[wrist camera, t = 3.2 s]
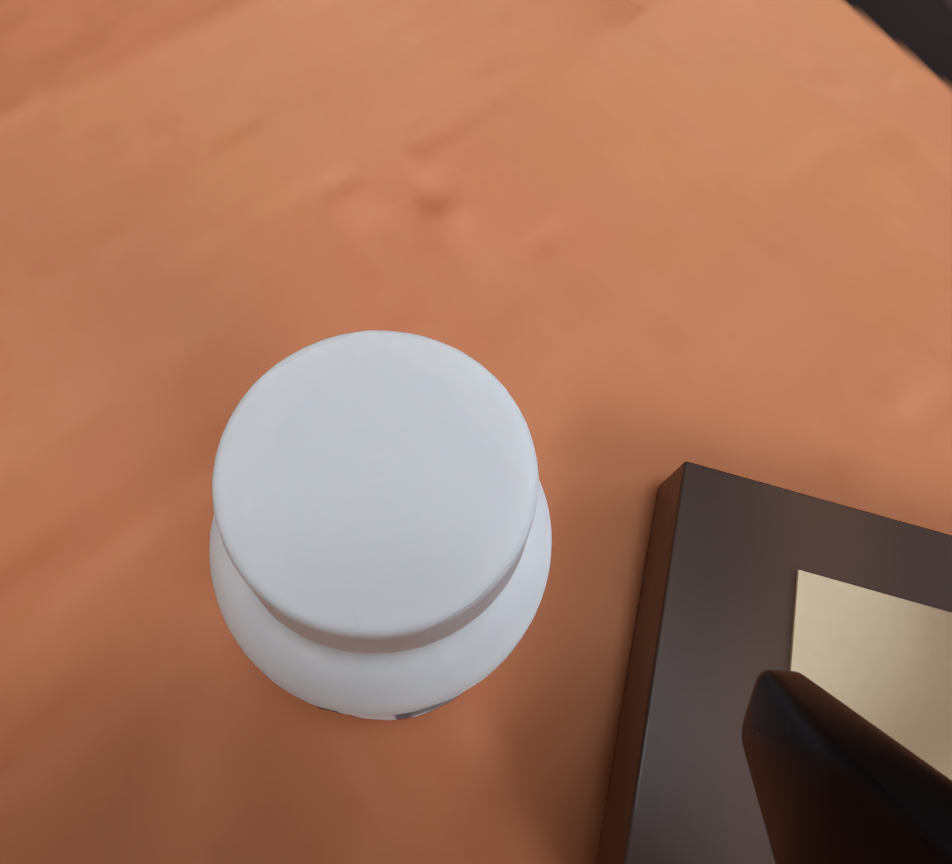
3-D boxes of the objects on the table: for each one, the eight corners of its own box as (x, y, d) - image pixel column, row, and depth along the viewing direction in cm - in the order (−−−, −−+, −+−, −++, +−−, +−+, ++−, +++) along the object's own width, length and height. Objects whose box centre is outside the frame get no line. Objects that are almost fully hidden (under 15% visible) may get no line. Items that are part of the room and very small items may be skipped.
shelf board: (588, 904, 15) (614, 929, 13) (658, 484, 19) (686, 458, 17) (1127, 1060, 15) (1232, 1109, 13) (1086, 605, 19) (1162, 591, 17)
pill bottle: (497, 500, 19) (582, 290, 10) (504, 719, 17) (621, 706, 8) (289, 498, 18) (178, 274, 9) (270, 723, 16) (102, 716, 7)
